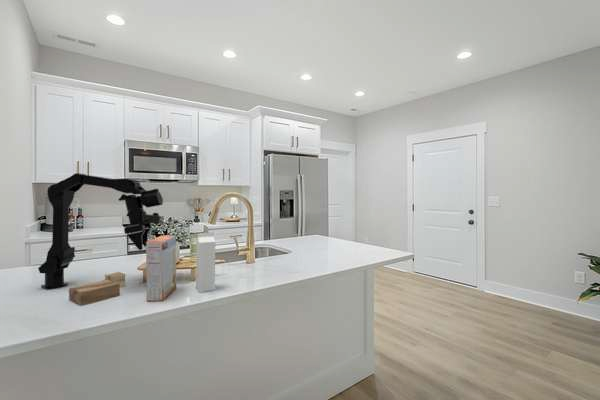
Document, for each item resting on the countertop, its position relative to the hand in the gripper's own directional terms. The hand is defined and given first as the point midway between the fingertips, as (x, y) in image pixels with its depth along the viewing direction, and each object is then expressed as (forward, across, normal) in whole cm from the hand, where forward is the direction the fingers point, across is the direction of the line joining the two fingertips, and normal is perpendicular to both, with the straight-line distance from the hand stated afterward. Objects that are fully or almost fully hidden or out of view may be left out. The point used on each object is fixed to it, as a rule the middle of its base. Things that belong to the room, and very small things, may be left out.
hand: (143, 247), depth 118 cm
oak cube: (+13, 0, +13) cm, 18 cm away
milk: (+20, -11, -20) cm, 31 cm away
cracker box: (+17, -14, -6) cm, 23 cm away
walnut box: (+12, -12, +16) cm, 23 cm away
